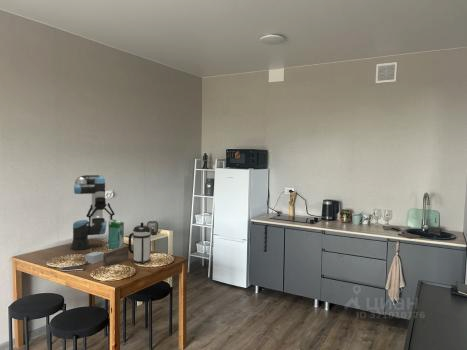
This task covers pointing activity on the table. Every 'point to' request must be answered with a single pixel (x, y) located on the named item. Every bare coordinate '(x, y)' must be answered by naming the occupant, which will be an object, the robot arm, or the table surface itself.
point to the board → (115, 255)
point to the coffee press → (140, 243)
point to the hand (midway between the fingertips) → (100, 225)
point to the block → (94, 257)
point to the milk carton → (116, 234)
